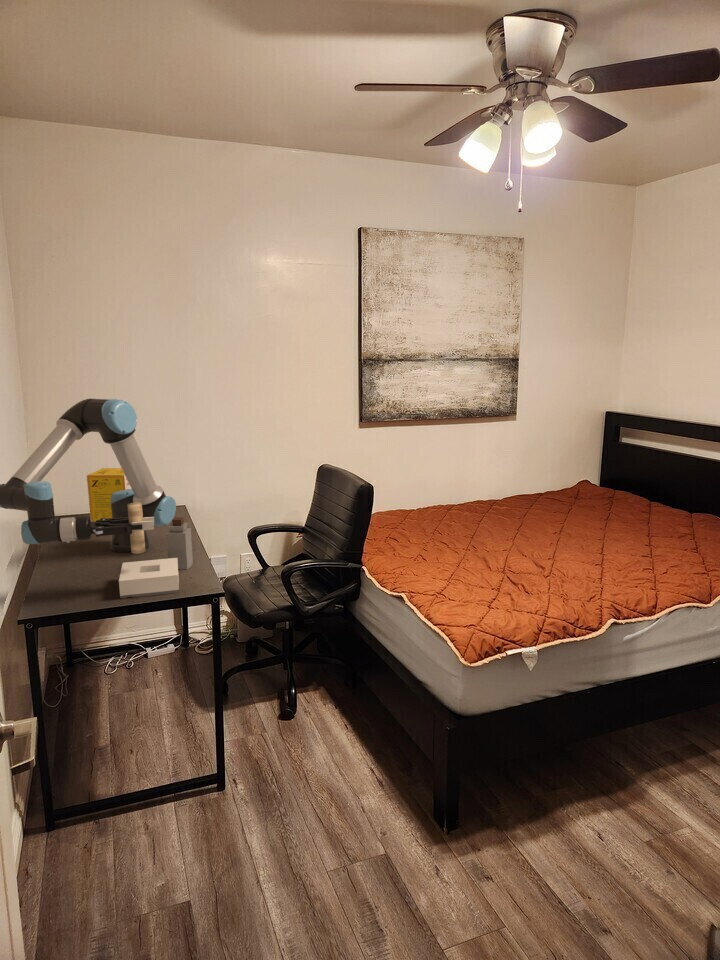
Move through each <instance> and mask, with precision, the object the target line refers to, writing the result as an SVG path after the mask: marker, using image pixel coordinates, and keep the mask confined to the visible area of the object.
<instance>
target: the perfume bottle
mask: <svg viewBox="0 0 720 960" xmlns="http://www.w3.org/2000/svg"><path fill="white" fill-rule="evenodd" d="M184 519H185V518H184V517H183V516H182V517H181V516H179V517H177V516H176V517H175V516H174V518H173V519H172V521H171V524H170V525H169V526H168V529H169V530H168V531H167V532H166V534H165V535H166V547H167V559H169V558H177V559H178V569H186V571H187V570H189V568H190V567H192V565H193V564H194V560H193V559H194V558H193V544H192V543H193V542H192V528H191V527H188V524H189V523H188V522H184V521H185V520H184Z"/></svg>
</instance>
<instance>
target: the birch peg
mask: <svg viewBox="0 0 720 960" xmlns="http://www.w3.org/2000/svg"><path fill="white" fill-rule="evenodd" d="M127 506H128V518H129V523H130V524H131V525H132V522H143V512H142V503H138V502H136V503H129V504H127ZM130 541H131V552H130V553H132V554H137V555H138V554H143V553H145V552H146V551H147V549H146V548H145V537H144V530H141V531H132V534H130Z"/></svg>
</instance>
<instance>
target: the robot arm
mask: <svg viewBox="0 0 720 960" xmlns="http://www.w3.org/2000/svg"><path fill="white" fill-rule="evenodd" d="M137 419H138V415H137V412H136V410H135V408H134V407H133V406H132V405H131V403H129V402H127V401H126V400H124V399H123V400H122V399H118V398H109V399H107V398H106V399H105V398H86V399H82V400H80V401H78V402H77V403H75V404H73V405H72V406H71V407H70V408H68V409H67V410H66V411H65V412H63V414H62V415H61V416H60V417H59V418H58V419H57V420H56V423H55V424H56V426H55V427H54V428H53V430H52V431H51V432H50V433H49V434H48V435H47V437H46V438H45V439H44V440H43V441H42V442H41V443H40V444H39V445H38V446H37V448H36V449H35V450H34V451H33V452H32V453H31V455H30V456H29V457H28V458H27V459H26V460H25V461H24V463H22V465H21V466H20V467H19V468H18V469H17V471H16V472H15V473H14V474H13V475H12V476H10V479H9V480H7V482H6V483H0V508H3V509H6V510H16V511H17V510H18V511H22V512H23V511H24V512H26V513H27V520H24V521H22V522H21V528H20V529H21V530H20V531H21V532H20V534H21V539H22V542H23V543H24V544H26V545H43V544H50V543H51V544H53V543H63V542H66V543H67V544H70V543H71V542H76V541H89V540H91V538H92V535H95V537H98V538H99V537H103V536H111V537H110V542H109V546H110V547H109V549H110V550H111V551H112V550H113V551H112V552H115V551H117V552H116V553H130V552H129V551H131V541H130V534H132V531H141V530H144V537H145V549H147V548H149V547H150V546H151V539H150V536H149V534H148V532H147V531H151V530H152V531H153V530H154V529H155V528H154V526H155V527H165V526H167V525H169V524H170V523H172V519H173V518H175V516H176V511H177V504H176V503H177V502H176V499H174V497H172V496H170V495H166V493H165V491H164V489H163V487H162V486H161V485H158V484H156V482H155V480H154V477H153V475H152V472H151V471H150V468H149V465H148V464H147V462H146V460H145V458H144V455H143V453H142V451H141V448H140V446H139V444H138V442H137V439H136V438H135V433H136V428H137V423H138V422H137ZM91 432H92V433H99V435H100V437H101V440H102V441H103V442H104V443H105V444H108V445H110V447H111V449H112V452H113V453H114V455H115V458H116V459H117V462H118V463H119V466H120V468H122V470H123V472H124V474H125V476H126V478H127V480H128V482H129V484H130V486H131V488H132V489H126V490H121V491H117V492H114V493H113V494H112V495H111V511H112V518H101V519H100V520H96V521H95V522H91V517H89V516H77V517H75V516H72V517H71V516H70V517H61V518H60V517H59V518H57V517H56V516H55V515H56V514H55V507H54V506H55V505H54V493H53V490H52V485H51V483H50V481H46V480H43V479H44V478H45V477H46V476H47V475H48V473H49V472H50V471H51V470H52V469H53V467H54V466H55V465H56V463H58V462H59V460H60V459H61V458H62V457H63V456H64V455H65V453H66V452H67V451H68V450H69V449H70V448H71V446H72V445H73V444H74V443H75V442H76V441H78V440H81V439H82V438H83V437H84V436H85V435H87V434H89V433H91ZM136 502H138V503H142V512H143V522H132V525H131V524H130V523H129V518H128V506H127V504H129V503H136Z"/></svg>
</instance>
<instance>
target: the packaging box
mask: <svg viewBox="0 0 720 960" xmlns="http://www.w3.org/2000/svg"><path fill="white" fill-rule="evenodd" d="M85 477H86V484H87V485H86V486H87V495H88V505H89V516H90V517H89V518H90V521H91V522H95V521H96V520H100V519H101V518H112V511H111V495H112V494H113V493H114V492H117V491H121V490H126V489H132V488H131V486H130V484H129V482H128V480H127V478H126V476H125V474H124V472H123V470H122V468H121V467H120V468H118V467H113V468H111V467H105V468H104V467H102V468H100V469H98V470H95V471H93V472H91V473H89V474H87V475H86V476H85Z"/></svg>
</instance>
